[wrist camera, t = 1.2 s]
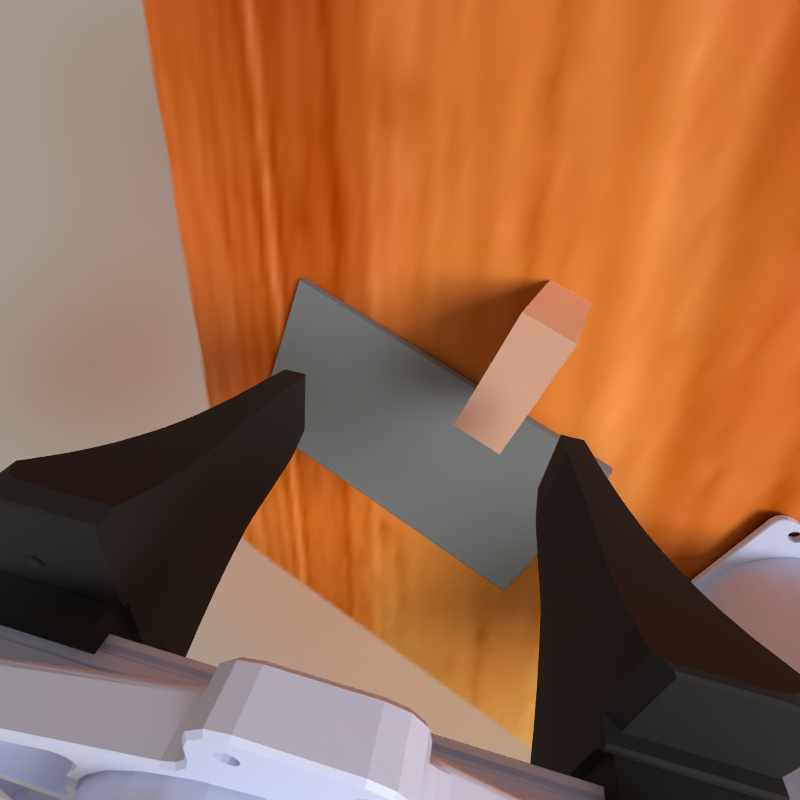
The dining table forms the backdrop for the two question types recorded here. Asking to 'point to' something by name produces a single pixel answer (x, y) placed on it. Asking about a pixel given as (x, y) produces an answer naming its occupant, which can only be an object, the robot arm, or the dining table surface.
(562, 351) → the tile
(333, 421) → the mat
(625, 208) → the dining table surface
